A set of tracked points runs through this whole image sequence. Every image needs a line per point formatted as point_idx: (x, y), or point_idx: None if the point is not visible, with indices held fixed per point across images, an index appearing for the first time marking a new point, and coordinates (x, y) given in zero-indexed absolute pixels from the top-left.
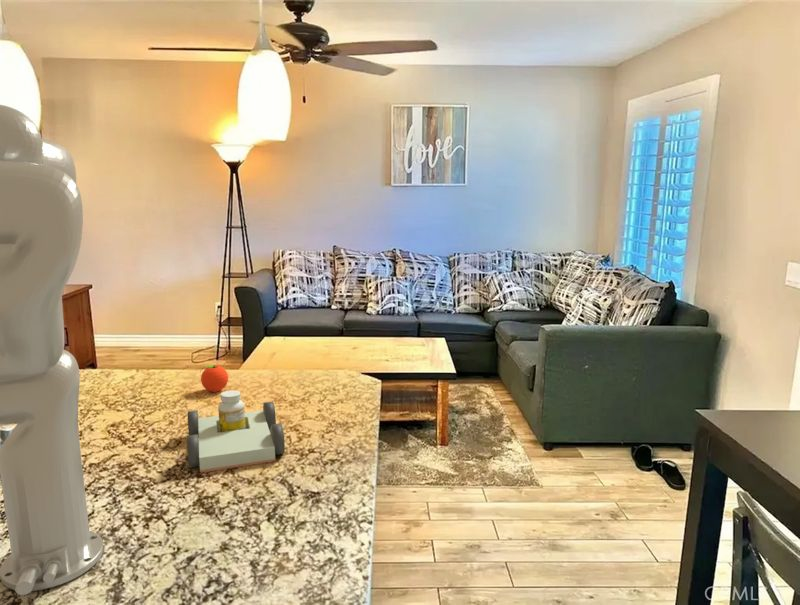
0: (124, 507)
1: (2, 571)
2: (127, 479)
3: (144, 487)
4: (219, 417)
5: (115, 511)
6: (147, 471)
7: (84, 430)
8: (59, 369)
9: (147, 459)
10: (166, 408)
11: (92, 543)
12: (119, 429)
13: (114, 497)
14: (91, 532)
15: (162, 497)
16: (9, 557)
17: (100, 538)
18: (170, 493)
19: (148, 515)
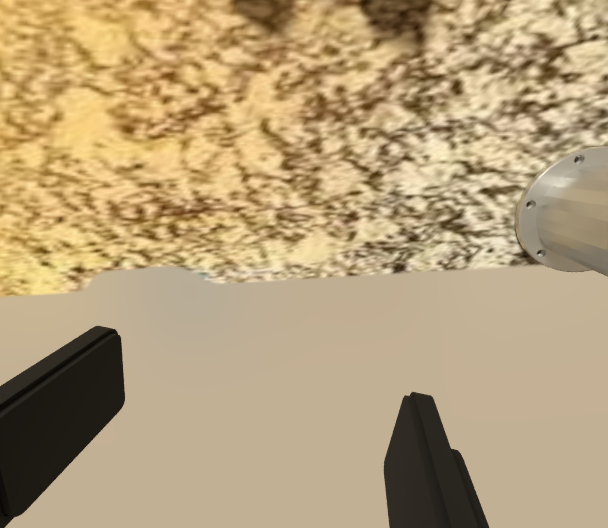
0: (479, 113)
1: (582, 269)
2: (376, 106)
3: (424, 76)
4: None
5: (483, 128)
6: (362, 68)
7: (138, 179)
8: None
9: (309, 66)
10: (63, 12)
11: (597, 161)
12: (151, 118)
13: (432, 129)
14: (560, 163)
15: (484, 43)
16: (551, 264)
17: (590, 149)
18: (478, 26)
19: (535, 73)
